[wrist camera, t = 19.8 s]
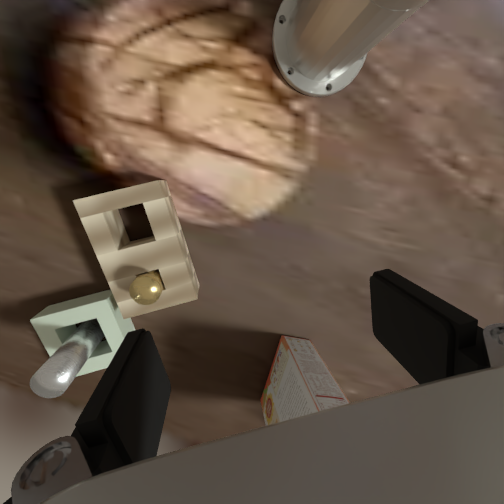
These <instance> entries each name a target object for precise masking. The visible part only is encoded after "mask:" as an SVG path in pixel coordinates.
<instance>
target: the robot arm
mask: <svg viewBox="0 0 504 504" xmlns="http://www.w3.org/2000/svg"><path fill="white" fill-rule="evenodd" d="M428 1H429V0H283V2H282V3H281V5H280V8H279V10H278V12H277V15H276V18H275V21H274V25H273V32H272V48H273V53H274V58H275V61H276V64H277V67H278V69H279V71H280V73H281V74H282V76H283V77H284V79H285V80H286V81H287V82H288V84H289V85H291V86H292V87H293V88H294V89H295V90H297V91H299V92H301V93H302V94H305V95H308V96H312V97H324V96H329V95H332V94H334V93H337V92H338V91H340V90H342V89H343V88H344V87H346V86H347V85H348V84H349V83H351V82H352V80H353V79H354V78H355V77H356V76H357V74H358V73H359V71H360V69H361V68H362V66H363V63H364V61H365V58H366V55H367V52H369V51H370V50H371V49H372V48H373V47H375V46H376V45H377V44H378V43H379V42H380V41H382V40H383V39H384V38H385V37H386V36H388V35H389V34H390V33H391V32H392V31H393V30H395V29H396V28H397V27H398V26H399V25H401V24H402V23H403V22H404V21H405V20H406V19H408V18H409V17H410V16H411V15H412V14H414V13H415V12H416V11H417V10H418V9H419V8H421V7H422V6H423V5H424V4H425V3H427V2H428ZM280 22H282V24H281V23H280ZM287 72H290V75H289V74H288V73H287ZM326 88H327V89H328V91H327V90H326ZM370 293H371V309H372V326H373V333H374V335H375V337H376V338H377V339H378V341H379V342H380V343H381V344H382V345H383V346H384V347H385V348H386V349H387V350H388V351H389V352H390V353H391V354H392V355H393V356H394V358H395V359H396V360H397V361H398V362H399V363H400V364H401V365H402V366H403V367H404V368H405V369H406V370H407V371H408V372H409V373H410V375H411V376H412V377H413V378H414V379H415V380H416V381H417V382H418V383H419V384H420V385H416V386H413V387H409V388H405V389H401V390H397V391H394V392H390V393H386V394H382V395H379V396H375V397H371V398H367V399H363V400H360V401H356V402H352V403H348V404H345V405H341V406H337V407H333V408H330V409H326V410H322V411H319V412H315V413H311V414H307V415H304V416H300V417H296V418H293V419H289V420H285V421H282V422H278V423H274V424H271V425H267V426H263V427H260V428H256V429H252V430H249V431H245V432H241V433H238V434H234V435H231V436H227V437H223V438H220V439H216V440H213V441H209V442H205V443H202V444H198V445H195V446H191V447H187V448H184V449H181V450H177V451H173V452H170V453H166V454H163V455H159V456H156V455H157V450H158V446H159V442H160V437H161V433H162V428H163V424H164V419H165V415H166V410H167V406H168V401H169V396H170V392H171V385H170V381H169V378H168V376H167V373H166V371H165V368H164V366H163V363H162V360H161V358H160V355H159V353H158V350H157V348H156V345H155V343H154V340H153V337H152V335H151V333H150V331H145V330H144V329H139V330H135V331H131V332H128V333H127V334H126V336H125V338H124V340H123V341H122V343H121V345H120V347H119V348H118V350H117V352H116V354H115V355H114V357H113V359H112V361H111V362H110V364H109V366H108V368H107V369H106V371H105V373H104V375H103V376H102V378H101V380H100V382H99V383H98V385H97V387H96V389H95V390H94V392H93V394H92V396H91V398H90V399H89V401H88V403H87V405H86V406H85V408H84V410H83V412H82V413H81V415H80V417H79V419H78V420H77V422H76V424H75V426H76V428H75V429H74V431H73V433H72V435H71V436H65V437H60V438H58V439H55V440H53V441H51V442H49V443H48V444H46V445H45V446H43V447H42V448H40V449H39V450H38V451H37V452H35V453H34V454H33V455H32V456H31V457H30V458H29V459H28V460H27V461H26V462H25V463H24V464H23V466H22V467H21V469H20V470H19V471H18V472H17V474H16V476H15V478H14V480H13V482H12V488H11V495H12V497H11V498H9V499H8V500H7V501H6V502H4V503H3V504H504V323H499V324H492V325H489V326H487V327H486V328H484V329H482V328H481V327H479V326H477V325H478V320H477V319H475V318H474V317H472V316H470V315H468V314H467V313H465V312H463V311H461V310H460V309H458V308H456V307H454V306H453V305H451V304H449V303H447V302H446V301H444V300H442V299H440V298H439V297H437V296H435V295H434V294H432V293H430V292H428V291H427V290H425V289H423V288H421V287H420V286H418V285H416V284H414V283H413V282H411V281H409V280H407V279H406V278H404V277H402V276H400V275H399V274H397V273H395V272H394V271H392V270H390V269H385V270H381V271H377V272H374V273H373V276H371V277H370Z"/></svg>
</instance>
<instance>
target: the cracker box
mask: <svg viewBox="0 0 504 504" xmlns="http://www.w3.org/2000/svg"><path fill="white" fill-rule="evenodd" d="M348 403H350V402H349V400H348V399H347V397H346V396H345V394H344V392H343V391H342V389H341V388H340V386H339V385H338V383H337V381H336V380H335V378H334V377H333V375H332V374H331V372H330V370H329V369H328V367H327V366H326V364H325V363H324V361H323V359H322V358H321V356H320V355H319V353H318V351H317V350H316V348H315V347H314V345H313V344H312V342H311V341H310V340H307V339H301V338H296V337H289V336H283V335H282V336H281V338H280V342H279V345H278V348H277V351H276V354H275V357H274V360H273V363H272V366H271V369H270V373H269V375H268V379H267V382H266V385H265V388H264V391H263V394H262V397H261V405H262V410H263V414H264V419H265V423H266V426H267V425H271V424H274V423H278V422H282V421H285V420H289V419H293V418H296V417H300V416H304V415H307V414H311V413H315V412H319V411H322V410H326V409H330V408H333V407H337V406H341V405H345V404H348Z"/></svg>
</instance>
